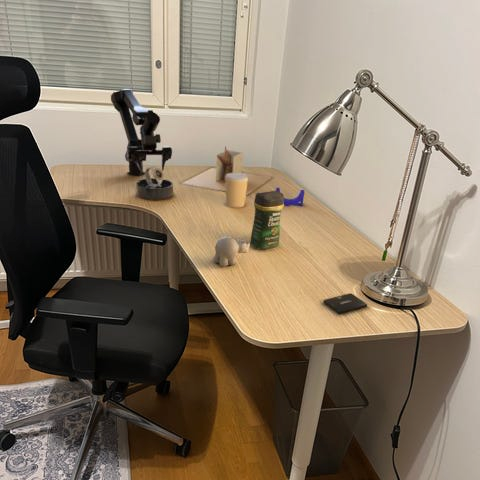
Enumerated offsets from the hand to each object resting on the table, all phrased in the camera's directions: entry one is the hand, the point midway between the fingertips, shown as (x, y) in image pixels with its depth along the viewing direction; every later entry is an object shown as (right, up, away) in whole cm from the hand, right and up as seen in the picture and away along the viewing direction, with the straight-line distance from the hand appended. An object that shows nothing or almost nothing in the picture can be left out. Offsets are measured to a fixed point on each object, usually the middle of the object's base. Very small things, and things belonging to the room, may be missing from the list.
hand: (152, 170), depth 198 cm
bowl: (+1, -11, -1) cm, 11 cm away
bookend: (+32, +4, +26) cm, 41 cm away
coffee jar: (+46, -39, -39) cm, 72 cm away
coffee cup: (+36, -16, -4) cm, 39 cm away
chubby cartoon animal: (+35, -46, -52) cm, 78 cm away
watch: (+1, -10, -1) cm, 10 cm away
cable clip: (+59, -14, 0) cm, 60 cm away
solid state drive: (+67, -60, -71) cm, 114 cm away
